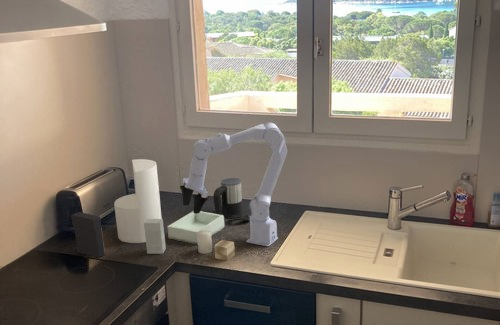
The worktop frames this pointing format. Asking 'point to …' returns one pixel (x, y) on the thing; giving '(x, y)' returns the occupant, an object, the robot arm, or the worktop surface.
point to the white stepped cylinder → (139, 203)
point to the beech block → (224, 250)
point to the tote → (195, 226)
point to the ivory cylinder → (204, 241)
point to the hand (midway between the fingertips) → (191, 209)
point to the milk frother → (229, 199)
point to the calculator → (88, 234)
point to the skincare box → (154, 236)
